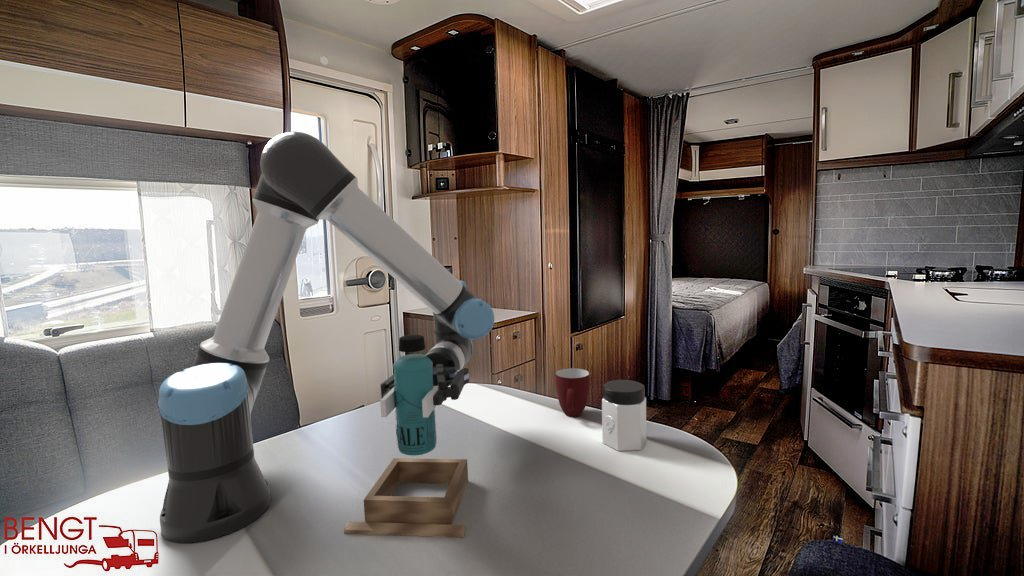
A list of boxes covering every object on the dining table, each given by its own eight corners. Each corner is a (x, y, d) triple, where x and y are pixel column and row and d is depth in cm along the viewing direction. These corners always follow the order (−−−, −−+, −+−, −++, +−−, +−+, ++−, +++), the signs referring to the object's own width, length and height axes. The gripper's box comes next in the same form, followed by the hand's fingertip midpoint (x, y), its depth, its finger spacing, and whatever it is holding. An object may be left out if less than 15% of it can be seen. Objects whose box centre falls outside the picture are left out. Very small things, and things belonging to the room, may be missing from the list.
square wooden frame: (344, 533, 71) (342, 508, 71) (382, 479, 87) (381, 458, 86) (463, 537, 70) (462, 511, 69) (481, 481, 85) (480, 459, 85)
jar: (594, 439, 100) (593, 383, 99) (623, 430, 104) (622, 376, 103) (625, 456, 92) (624, 395, 91) (655, 445, 97) (655, 387, 95)
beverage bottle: (433, 444, 83) (427, 329, 80) (442, 460, 77) (436, 337, 74) (394, 451, 80) (387, 333, 78) (400, 469, 74) (393, 342, 72)
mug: (592, 424, 108) (591, 381, 106) (556, 424, 108) (555, 381, 107) (589, 407, 118) (588, 368, 117) (556, 407, 119) (555, 368, 118)
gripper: (489, 383, 94) (466, 433, 72) (397, 383, 96) (346, 432, 74) (487, 346, 94) (464, 384, 71) (394, 347, 96) (342, 384, 73)
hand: (404, 408), depth 72 cm, fingers closed on beverage bottle, 6 cm apart
